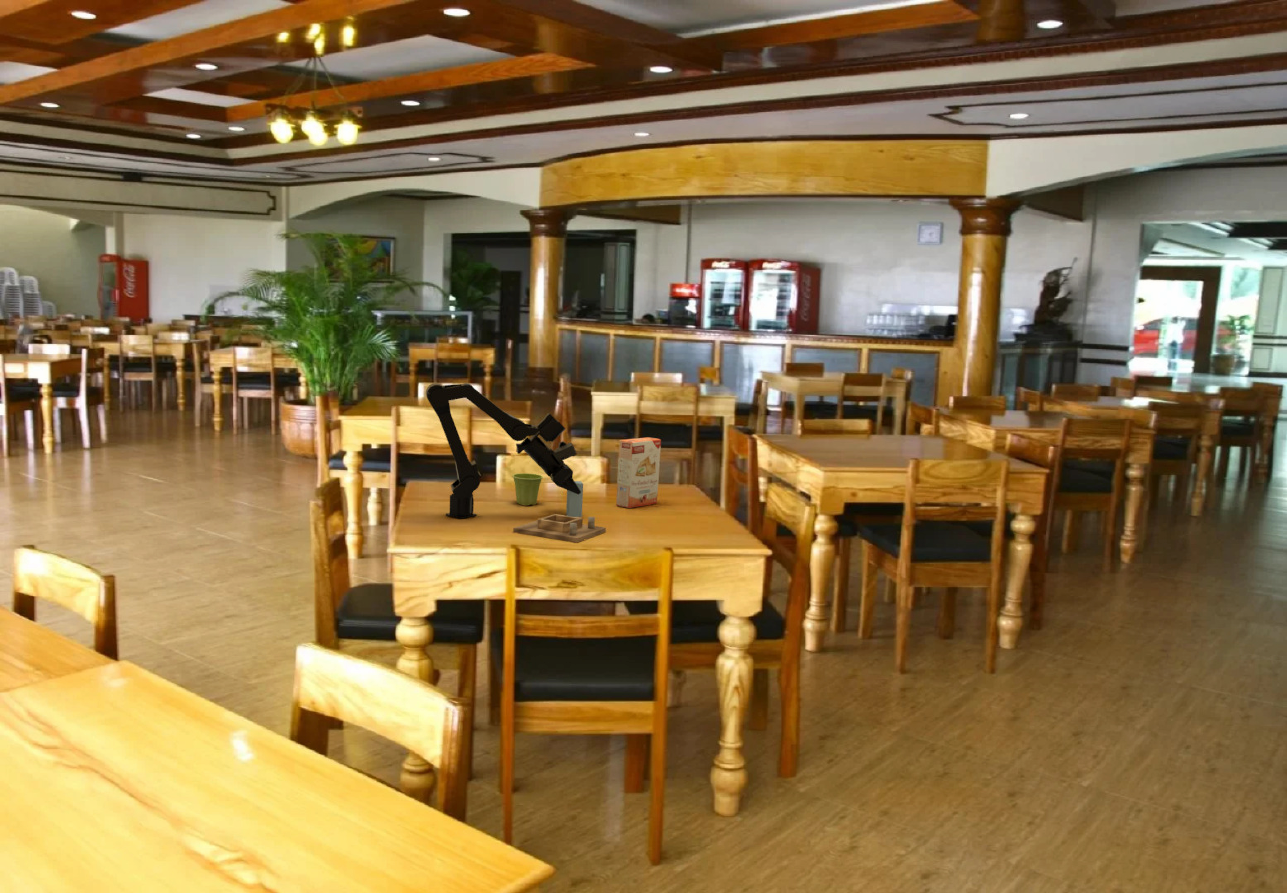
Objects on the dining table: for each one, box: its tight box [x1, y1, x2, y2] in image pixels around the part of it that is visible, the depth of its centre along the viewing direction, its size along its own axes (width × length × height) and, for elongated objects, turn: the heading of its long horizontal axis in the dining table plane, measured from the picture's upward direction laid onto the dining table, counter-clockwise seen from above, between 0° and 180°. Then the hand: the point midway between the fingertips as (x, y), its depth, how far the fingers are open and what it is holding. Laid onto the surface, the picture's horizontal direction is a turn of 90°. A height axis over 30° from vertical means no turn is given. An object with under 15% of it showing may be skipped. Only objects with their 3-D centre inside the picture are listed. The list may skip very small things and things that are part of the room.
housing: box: [512, 513, 607, 543], centre depth 295 cm, size 20×16×4 cm
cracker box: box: [615, 436, 662, 509], centre depth 337 cm, size 14×6×21 cm, turn 140°
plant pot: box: [512, 472, 544, 506], centre depth 332 cm, size 9×9×9 cm
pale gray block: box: [565, 480, 584, 518], centre depth 317 cm, size 4×4×10 cm
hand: (576, 490), depth 317 cm, fingers open, 9 cm apart
